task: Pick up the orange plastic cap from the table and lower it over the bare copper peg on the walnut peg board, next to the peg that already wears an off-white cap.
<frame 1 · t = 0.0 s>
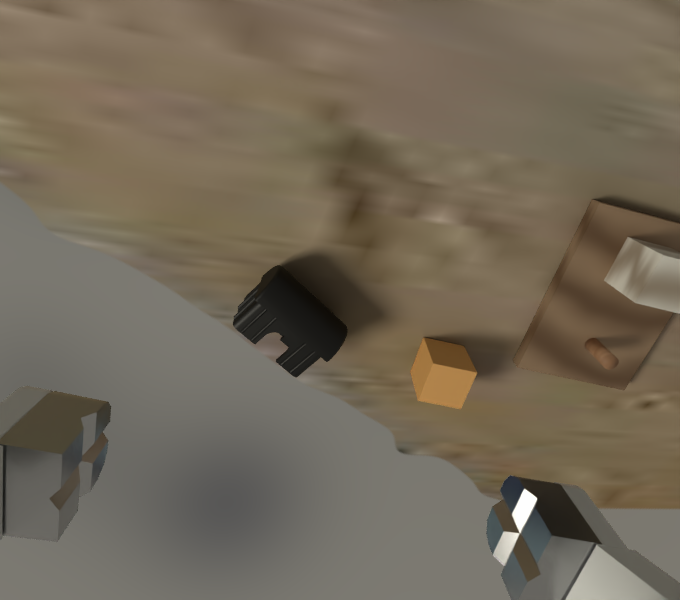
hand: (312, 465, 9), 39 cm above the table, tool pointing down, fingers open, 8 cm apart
cap: (436, 359, 54), on the table
end cap: (294, 304, 51), on the table
peg board: (605, 300, 51), on the table
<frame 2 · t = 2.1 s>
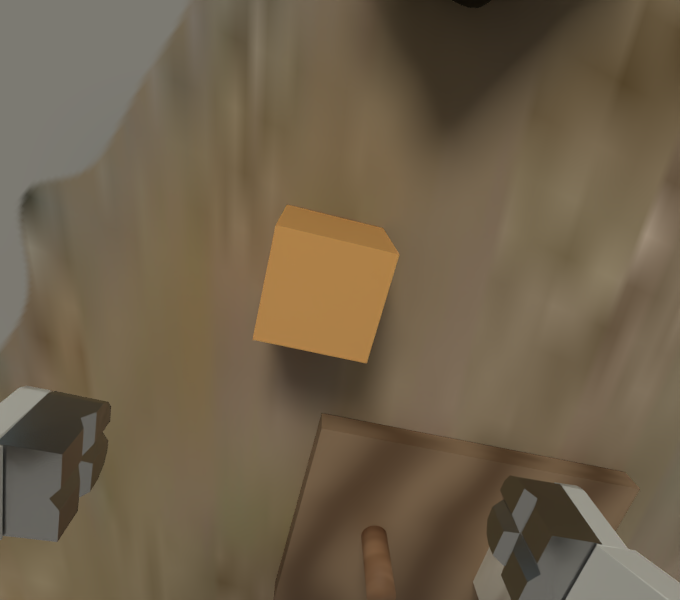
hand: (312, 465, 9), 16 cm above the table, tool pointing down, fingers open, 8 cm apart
cap: (324, 262, 24), on the table
peg board: (443, 528, 30), on the table
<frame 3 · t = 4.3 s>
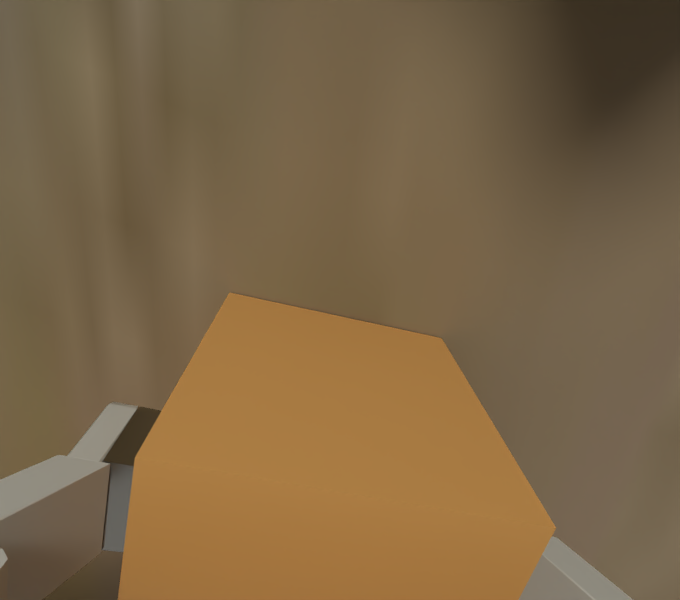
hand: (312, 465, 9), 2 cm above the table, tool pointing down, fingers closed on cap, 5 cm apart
cap: (314, 407, 11), on the table, touching gripper
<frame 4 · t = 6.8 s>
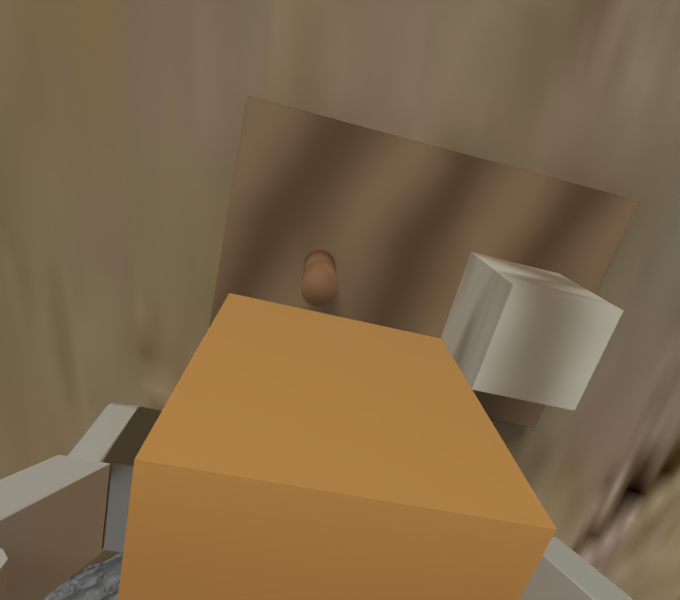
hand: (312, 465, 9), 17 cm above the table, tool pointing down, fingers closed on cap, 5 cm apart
cap: (314, 408, 11), point 15 cm above the table, touching gripper
peg board: (406, 277, 25), on the table
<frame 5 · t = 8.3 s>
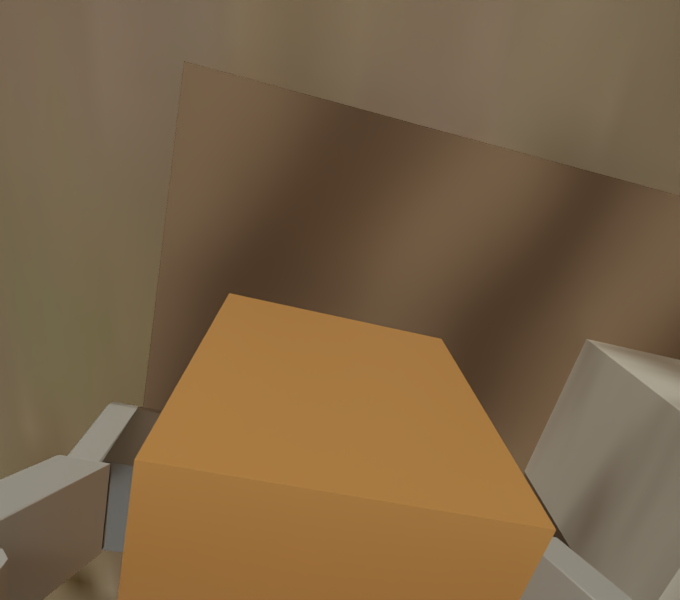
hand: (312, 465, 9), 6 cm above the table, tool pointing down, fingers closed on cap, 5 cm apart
cap: (314, 408, 11), point 4 cm above the table, touching gripper
peg board: (465, 370, 15), on the table
when the fingers open (5 cm above the table, at t = 9.4 s): cap stays where it is, resting on peg board.
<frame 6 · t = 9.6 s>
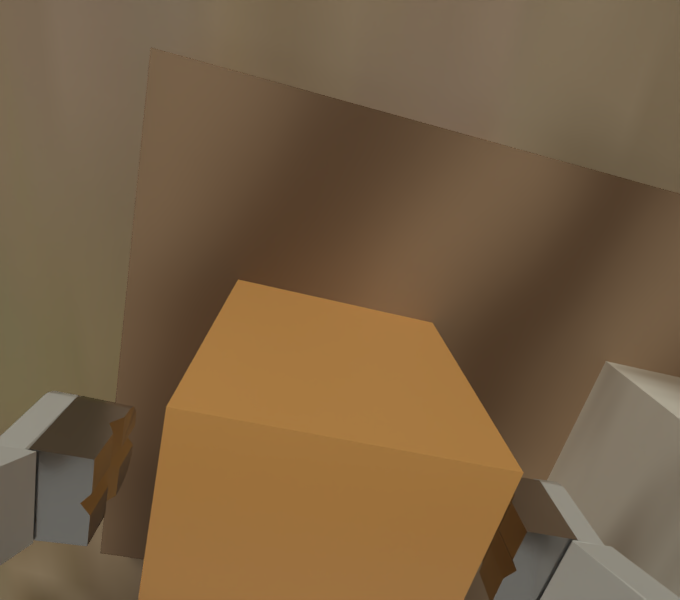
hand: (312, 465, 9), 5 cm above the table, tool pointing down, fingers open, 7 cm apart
cap: (315, 387, 12), point 1 cm above the table, touching peg board
peg board: (470, 392, 14), on the table
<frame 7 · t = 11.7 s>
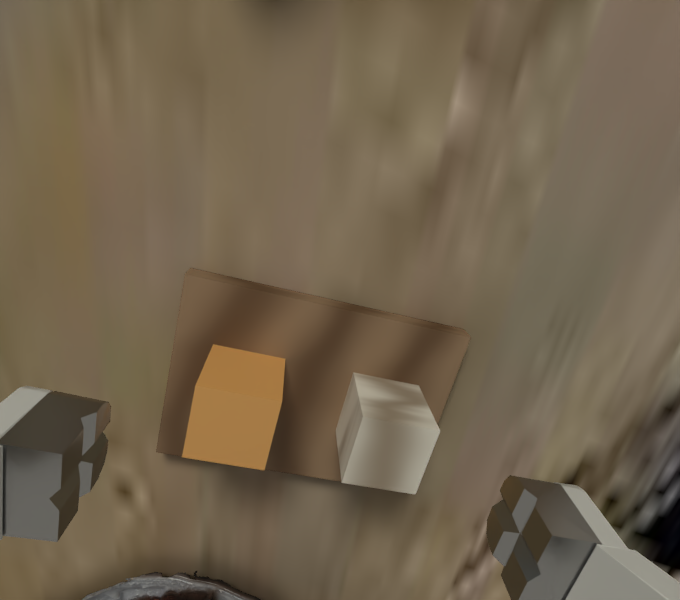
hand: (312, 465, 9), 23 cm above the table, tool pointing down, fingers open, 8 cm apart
cap: (242, 382, 32), point 1 cm above the table, touching peg board
peg board: (310, 385, 34), on the table
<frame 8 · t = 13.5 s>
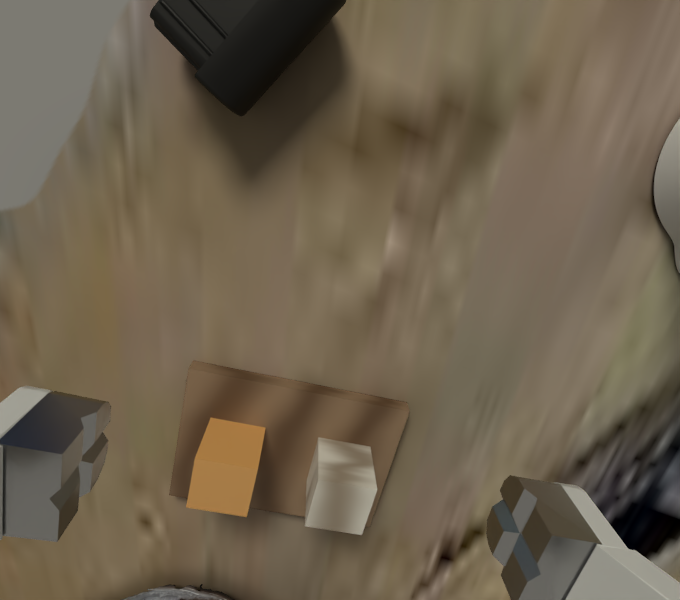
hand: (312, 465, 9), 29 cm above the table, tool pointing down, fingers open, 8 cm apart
cap: (233, 445, 42), point 1 cm above the table, touching peg board
end cap: (259, 28, 32), on the table
peg board: (287, 444, 44), on the table
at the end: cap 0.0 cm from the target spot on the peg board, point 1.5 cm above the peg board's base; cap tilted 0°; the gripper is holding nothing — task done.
